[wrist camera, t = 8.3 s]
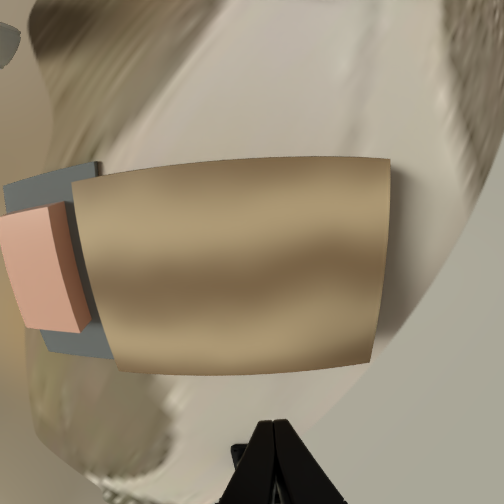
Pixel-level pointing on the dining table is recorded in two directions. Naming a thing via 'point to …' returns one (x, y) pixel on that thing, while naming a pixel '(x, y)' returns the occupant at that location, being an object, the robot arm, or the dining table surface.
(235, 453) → the robot arm
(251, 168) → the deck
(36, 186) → the mat
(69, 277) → the salmon pink block
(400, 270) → the dining table surface
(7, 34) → the photo printer
